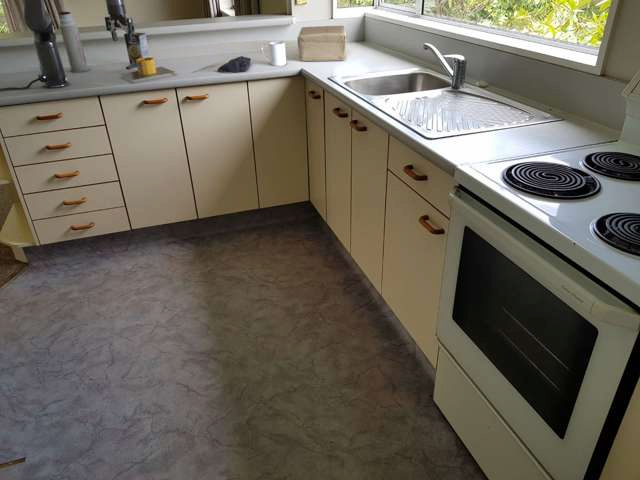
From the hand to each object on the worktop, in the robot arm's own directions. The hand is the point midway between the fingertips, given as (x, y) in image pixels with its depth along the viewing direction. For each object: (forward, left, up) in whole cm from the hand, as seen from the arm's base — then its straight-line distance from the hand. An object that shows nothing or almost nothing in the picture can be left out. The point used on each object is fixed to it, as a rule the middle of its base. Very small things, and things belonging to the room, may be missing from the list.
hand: (122, 41), depth 234 cm
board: (+10, +3, -18) cm, 21 cm away
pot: (+6, +1, -16) cm, 17 cm away
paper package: (+99, -25, -18) cm, 104 cm away
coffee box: (+17, +29, -18) cm, 38 cm away
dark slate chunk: (+51, -13, -18) cm, 56 cm away
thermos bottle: (-11, +41, -18) cm, 46 cm away
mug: (+69, -21, -18) cm, 74 cm away
